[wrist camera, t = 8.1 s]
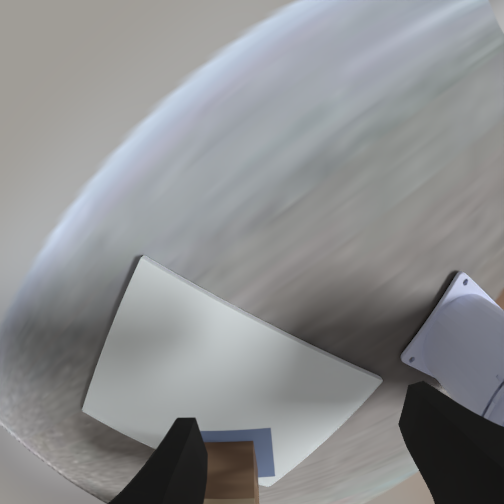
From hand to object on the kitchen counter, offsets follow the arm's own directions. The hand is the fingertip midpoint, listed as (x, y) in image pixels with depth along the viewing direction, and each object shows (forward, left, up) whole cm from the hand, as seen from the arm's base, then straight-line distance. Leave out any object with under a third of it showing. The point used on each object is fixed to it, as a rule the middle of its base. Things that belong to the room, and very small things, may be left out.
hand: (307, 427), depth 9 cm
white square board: (-1, +11, -10) cm, 15 cm away
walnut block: (-4, +14, -10) cm, 18 cm away
